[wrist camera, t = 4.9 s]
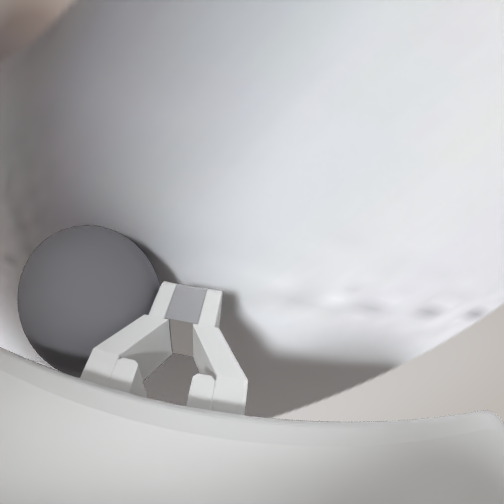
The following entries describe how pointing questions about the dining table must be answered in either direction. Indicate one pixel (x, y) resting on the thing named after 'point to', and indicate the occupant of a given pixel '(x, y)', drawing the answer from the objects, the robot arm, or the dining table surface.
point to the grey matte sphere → (82, 293)
